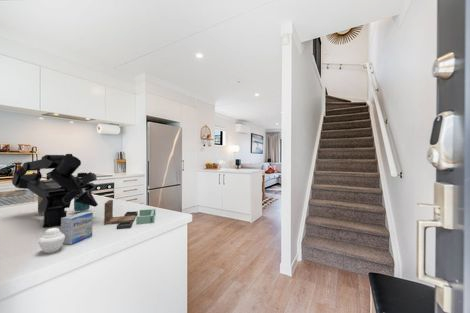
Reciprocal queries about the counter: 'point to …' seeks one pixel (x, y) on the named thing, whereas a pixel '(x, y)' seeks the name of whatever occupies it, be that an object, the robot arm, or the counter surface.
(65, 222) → the medicine box
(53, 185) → the coffee box
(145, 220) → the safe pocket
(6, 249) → the counter surface
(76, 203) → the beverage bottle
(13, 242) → the counter surface
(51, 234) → the white lidded jar
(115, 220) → the bookend
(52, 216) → the robot arm
